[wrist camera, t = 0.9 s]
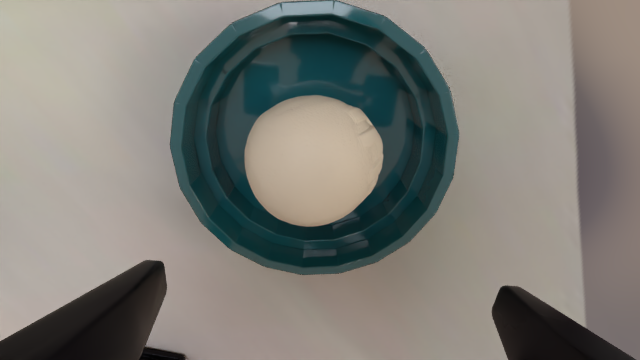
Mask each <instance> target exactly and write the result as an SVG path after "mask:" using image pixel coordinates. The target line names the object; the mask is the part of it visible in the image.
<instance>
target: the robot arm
mask: <svg viewBox="0 0 640 360" xmlns="http://www.w3.org/2000/svg"><path fill="white" fill-rule="evenodd" d="M166 290H167V283H166V275H165V267H164V264H163V262H161V261H154V260H146V261H143V262H141V263H140V264H138V265H136V266H134V267H132V268H131V269H129V270H127V271H125V272H123V273H122V274H120V275H118V276H116V277H115V278H113V279H111V280H109V281H107V282H106V283H104V284H102V285H100V286H98V287H97V288H95V289H93V290H91V291H89V292H88V293H86V294H84V295H82V296H81V297H79V298H77V299H75V300H73V301H72V302H70V303H68V304H66V305H64V306H63V307H61V308H59V309H57V310H55V311H54V312H52V313H50V314H48V315H47V316H45V317H43V318H41V319H39V320H38V321H36V322H34V323H32V324H30V325H29V326H27V327H25V328H23V329H21V330H20V331H18V332H16V333H14V334H12V335H11V336H9V337H7V338H5V339H4V340H2V341H0V360H185V357H184V356H182V355H179V354H173V353H168V352H162V351H156V350H151V349H145V348H144V347H145V345H146V342H147V340H148V337H149V335H150V332H151V330H152V327H153V325H154V322H155V320H156V317H157V315H158V312H159V310H160V307H161V305H162V302H163V300H164V297H165V295H166ZM492 317H493V320H494V323H495V325H496V328H497V331H498V333H499V336H500V339H501V341H502V344H503V347H504V350H505V352H506V355H507V358H508V360H635V359H634V358H633V357H631V356H629V355H628V354H626V353H625V352H623V351H621V350H620V349H618V348H617V347H615V346H613V345H612V344H610V343H608V342H607V341H605V340H603V339H602V338H600V337H599V336H597V335H595V334H594V333H592V332H591V331H589V330H588V329H586V328H585V327H583V326H581V325H580V324H578V323H577V322H575V321H573V320H572V319H570V318H569V317H567V316H565V315H564V314H562V313H561V312H559V311H557V310H556V309H554V308H553V307H551V306H549V305H548V304H546V303H545V302H543V301H541V300H540V299H538V298H537V297H535V296H533V295H532V294H530V293H529V292H527V291H525V290H524V289H522V288H520V287H518V286H502V287H501V288H500V290H499V292H498V295H497V297H496V300H495V302H494V304H493V307H492Z"/></svg>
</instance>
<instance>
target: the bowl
mask: <svg viewBox="0 0 640 360" xmlns="http://www.w3.org/2000/svg"><path fill="white" fill-rule="evenodd" d="M310 95H321V96H325V97H330V98H334V99H337V100H340V101H342V102H344V103H346V104H347V105H351V106H352V107H356V108H359V109H361V110H362V111H363V113H364V114H365V115H366V116H367V117H368V119H369V120H370V122H371V123H372V125H373V126H374V127H375V129H376V130H377V132H378V133H379V135H380V137H381V139H382V143H383V162H382V169H381V171H380V173H379V175H378V180H377V183H376V185H375V187H374V188H373V190H372V192H371V193H370V194H369V195H368V196H367V197H366V198H365V199H364V200H363V201H362V202H361V203H360V204H359V205H358V206H357V207H356V208H355V209H354V210H353V211H352V212H350V213H349V214H348V215H346V216H344V217H343V218H341V219H339V220H337V221H334V222H332V223H329V224H325V225H321V226H313V227H306V226H298V225H293V224H290V223H287V222H285V221H282V220H280V219H278V218H276V217H275V216H273V215H272V214H270V213H269V212H268V211H267V210H266V209H265V208H264V207H263V206H262V205H261V204H260V202H259V201H258V200H257V198H256V197H255V195H254V193H253V191H252V189H251V187H250V184H249V181H248V179H247V175H246V170H245V162H244V161H245V157H244V156H245V154H244V153H245V146H246V143H247V138H248V135H249V133H250V131H251V129H252V127H253V125H254V123H255V122H256V120H257V119H258V117H259V116H260V115H261V114H263V113H264V112H266V111H267V110H269V109H270V108H272V107H274V106H275V105H277V104H278V103H280V102H282V101H284V100H287V99H291V98H294V97H298V96H310ZM458 140H459V130H458V125H457V120H456V115H455V110H454V105H453V100H452V95H451V91H450V88H449V86H448V85H447V83H446V81H445V80H444V78H443V76H442V75H441V73H440V71H439V70H438V68H437V66H436V65H435V63H434V61H433V60H432V58H431V56H430V55H429V53H428V51H427V50H426V49H425V47H424V46H422V45H421V44H420V43H419V42H417V41H416V40H415V39H414V38H412V37H411V36H410V35H408V34H407V33H406V32H405V31H403V30H402V29H401V28H400V27H398V26H397V25H396V24H395V23H393V22H392V21H391V20H390V19H388V18H387V17H385V16H383V15H380V14H377V13H374V12H371V11H368V10H365V9H362V8H359V7H356V6H353V5H350V4H346V3H343V2H340V1H337V0H313V1H291V2H281V3H277V4H274V5H272V6H270V7H267V8H265V9H263V10H260V11H258V12H256V13H253V14H251V15H249V16H246V17H244V18H242V19H239V20H237V21H235V22H233V23H232V24H230V25H229V26H228V27H227V28H226V29H225V30H223V31H222V32H221V33H220V34H219V35H218V36H217V37H216V38H215V39H214V40H213V41H212V42H211V43H210V44H209V45H208V46H207V47H206V48H205V49H204V50H203V51H202V52H201V53H200V54H199V55H198V56H196V59H194V61H193V63H192V65H191V67H190V69H189V71H188V73H187V75H186V78H185V80H184V82H183V84H182V86H181V88H180V90H179V92H178V94H177V96H176V98H175V102H174V108H173V118H172V128H171V138H170V149H171V153H172V157H173V162H174V166H175V170H176V174H177V178H178V183H179V187H180V189H181V191H182V192H183V194H184V196H185V197H186V199H187V201H188V202H189V204H190V206H191V207H192V209H193V210H194V212H195V214H196V215H197V217H198V219H199V220H200V222H201V223H202V224H203V225H204V226H205V227H206V228H207V229H208V230H209V231H210V232H212V233H213V234H214V235H215V236H216V237H217V238H218V239H219V240H220V241H221V242H222V243H224V244H225V245H226V246H227V247H228V248H229V249H231V250H232V251H234V252H236V253H238V254H240V255H242V256H244V257H246V258H248V259H250V260H252V261H254V262H256V263H258V264H260V265H262V266H265V267H267V268H272V269H276V270H281V271H286V272H290V273H295V274H299V275H301V274H302V275H315V274H339V273H343V272H346V271H350V270H353V269H356V268H360V267H363V266H366V265H370V264H373V263H375V262H378V261H379V260H381V259H383V258H384V257H386V256H388V255H389V254H391V253H393V252H394V251H396V250H397V249H399V248H401V247H402V246H404V245H406V244H407V243H408V242H410V241H411V240H412V239H413V238H414V237H415V235H416V234H417V233H418V232H419V231H420V230H421V229H422V228H423V227H424V226H425V225H426V224H427V222H428V221H429V220H430V219H431V218H432V217H433V216H434V215H435V213H436V212H437V210H438V208H439V206H440V204H441V202H442V200H443V198H444V196H445V193H446V191H447V189H448V187H449V185H450V183H451V181H452V179H453V176H454V169H455V162H456V155H457V147H458Z"/></svg>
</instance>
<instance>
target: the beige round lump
mask: <svg viewBox="0 0 640 360" xmlns="http://www.w3.org/2000/svg"><path fill="white" fill-rule="evenodd" d="M244 154H245V156H244V157H245V161H244V162H245V170H246V175H247V179H248V181H249V184H250V187H251V189H252V191H253V193H254V195H255V197H256V198H257V200H258V201H259V202H260V204H261V205H262V206H263V207H264V208H265V209H266V210H267V211H268V212H269V213H270V214H272V215H273V216H275V217H276V218H278V219H280V220H282V221H285V222H287V223H290V224H293V225H298V226H306V227H313V226H321V225H325V224H329V223H332V222H334V221H337V220H339V219H341V218H343V217H344V216H346V215H348V214H349V213H350V212H352V211H353V210H354V209H355V208H356V207H357V206H358V205H359V204H360V203H361V202H362V201H363V200H364V199H365V198H366V197H367V196H368V195H369V194H370V193H371V192H372V190H373V188H374V187H375V185H376V183H377V180H378V175H379V173H380V171H381V169H382V162H383V143H382V139H381V137H380V135H379V133H378V132H377V130H376V129H375V127H374V126H373V125H372V123H371V122H370V120H369V119H368V117H367V116H366V115H365V114H364V113H363V111H362V110H361V109H359V108H356V107H352V106H351V105H347V104H346V103H344V102H342V101H340V100H337V99H334V98H330V97H325V96H321V95H310V96H298V97H294V98H291V99H287V100H284V101H282V102H280V103H278V104H277V105H275V106H274V107H272V108H270V109H269V110H267V111H266V112H264V113H263V114H261V115H260V116H259V117H258V119H257V120H256V122H255V123H254V125H253V127H252V129H251V131H250V133H249V135H248V138H247V143H246V146H245V153H244Z"/></svg>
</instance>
